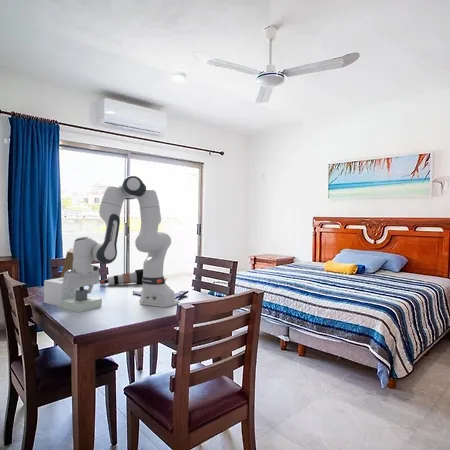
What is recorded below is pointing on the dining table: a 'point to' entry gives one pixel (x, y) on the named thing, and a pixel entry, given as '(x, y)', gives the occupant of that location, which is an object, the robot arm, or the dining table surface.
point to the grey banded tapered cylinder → (125, 278)
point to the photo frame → (68, 262)
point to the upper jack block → (56, 291)
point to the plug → (81, 294)
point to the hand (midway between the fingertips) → (81, 295)
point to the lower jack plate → (80, 304)
